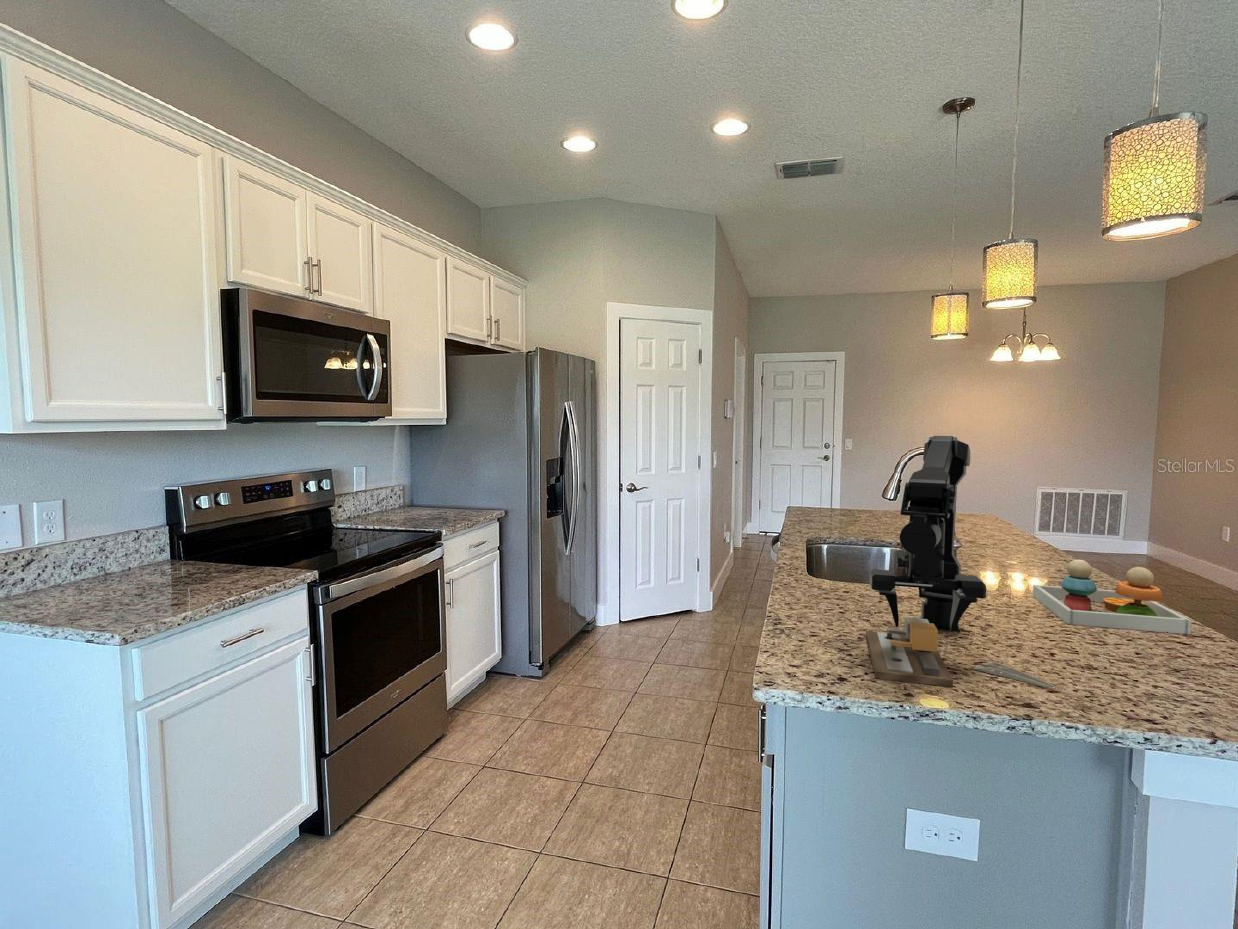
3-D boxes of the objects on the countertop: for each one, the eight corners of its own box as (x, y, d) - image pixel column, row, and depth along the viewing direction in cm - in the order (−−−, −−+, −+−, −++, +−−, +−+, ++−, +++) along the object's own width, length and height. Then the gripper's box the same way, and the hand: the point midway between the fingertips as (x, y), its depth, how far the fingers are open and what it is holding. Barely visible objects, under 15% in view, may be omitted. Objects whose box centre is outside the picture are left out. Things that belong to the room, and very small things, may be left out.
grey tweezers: (972, 672, 111) (973, 661, 111) (983, 666, 114) (985, 656, 114) (1089, 715, 98) (1091, 703, 97) (1098, 707, 100) (1100, 695, 100)
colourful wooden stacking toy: (1150, 610, 147) (1153, 558, 147) (1163, 630, 133) (1167, 573, 132) (1057, 598, 157) (1059, 550, 156) (1060, 616, 143) (1063, 562, 142)
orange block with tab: (932, 649, 116) (933, 623, 116) (936, 656, 112) (937, 630, 112) (889, 644, 118) (890, 619, 118) (891, 652, 115) (892, 626, 114)
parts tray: (1136, 604, 152) (1137, 592, 152) (1190, 634, 130) (1191, 620, 130) (1032, 596, 159) (1033, 584, 158) (1067, 624, 137) (1068, 610, 136)
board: (930, 643, 125) (930, 616, 124) (953, 687, 104) (954, 655, 103) (865, 636, 128) (866, 611, 128) (875, 678, 107) (876, 647, 107)
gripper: (973, 540, 119) (970, 620, 120) (868, 535, 124) (866, 611, 125) (988, 552, 108) (985, 639, 109) (873, 545, 114) (870, 629, 115)
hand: (923, 629), depth 115 cm, fingers open, 9 cm apart
